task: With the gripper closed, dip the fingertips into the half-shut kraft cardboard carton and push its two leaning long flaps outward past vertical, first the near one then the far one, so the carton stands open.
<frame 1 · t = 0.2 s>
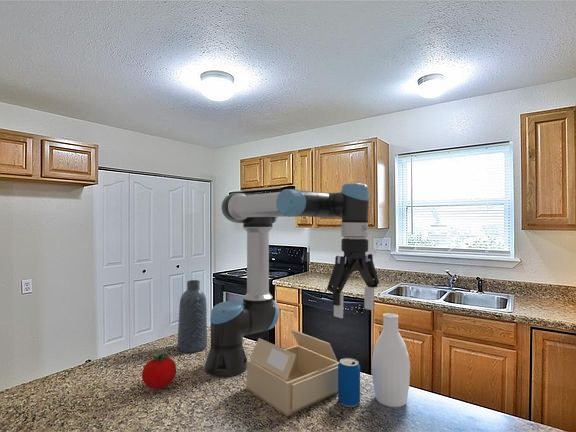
hand: (354, 313, 95), 28 cm above the countertop, fingers open, 13 cm apart
carton: (293, 390, 107), on the countertop
vase: (192, 348, 143), on the countertop
bottle: (390, 400, 101), on the countertop
tomato: (159, 387, 108), on the countertop
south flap: (271, 357, 101), point 13 cm above the countertop, hinge at -30.0°
beverage can: (348, 403, 99), on the countertop
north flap: (312, 344, 112), point 13 cm above the countertop, hinge at -30.0°
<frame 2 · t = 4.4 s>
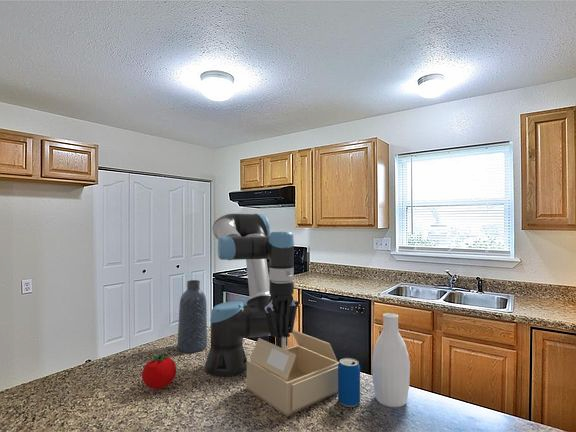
hand: (281, 357, 104), 11 cm above the countertop, fingers closed
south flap: (271, 357, 101), point 13 cm above the countertop, hinge at -29.7°, touching gripper
everything else where it was.
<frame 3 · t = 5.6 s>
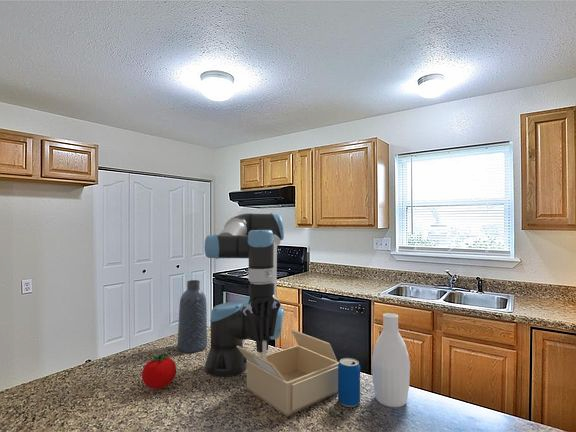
hand: (262, 362, 99), 12 cm above the countertop, fingers closed
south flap: (259, 362, 98), point 12 cm above the countertop, hinge at 38.5°, touching gripper
everything else where it was.
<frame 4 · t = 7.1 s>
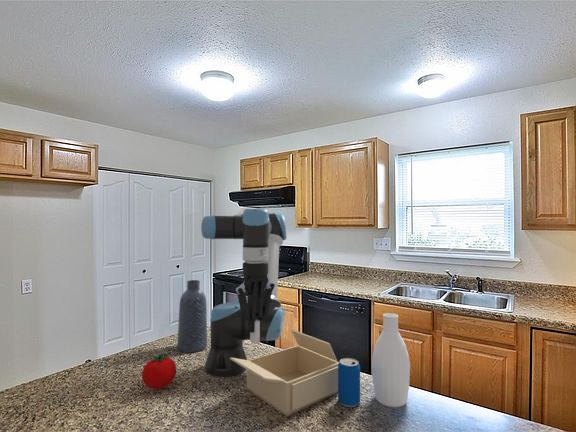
hand: (254, 342, 98), 18 cm above the countertop, fingers closed
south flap: (255, 369, 97), point 10 cm above the countertop, hinge at 68.8°
everything else where it was.
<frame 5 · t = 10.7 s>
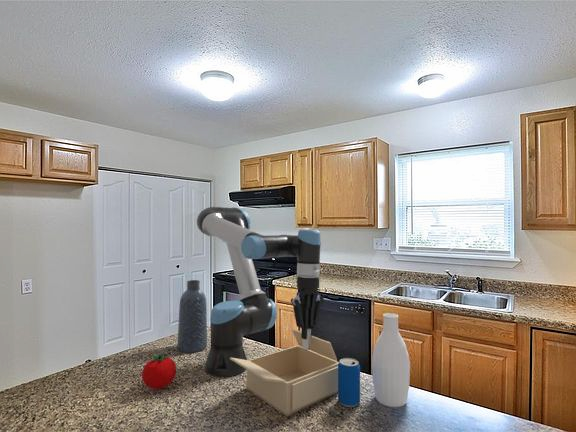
hand: (306, 348, 110), 12 cm above the countertop, fingers closed
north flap: (313, 343, 113), point 13 cm above the countertop, hinge at -27.0°, touching gripper
everything else where it was.
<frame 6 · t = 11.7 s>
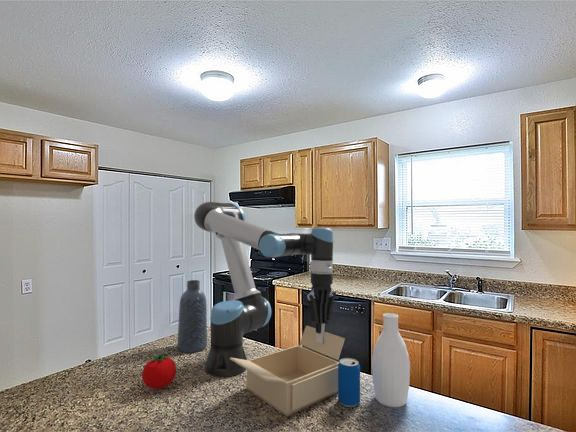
hand: (320, 342, 114), 13 cm above the countertop, fingers closed
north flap: (321, 341, 115), point 13 cm above the countertop, hinge at 27.5°, touching gripper
everything else where it was.
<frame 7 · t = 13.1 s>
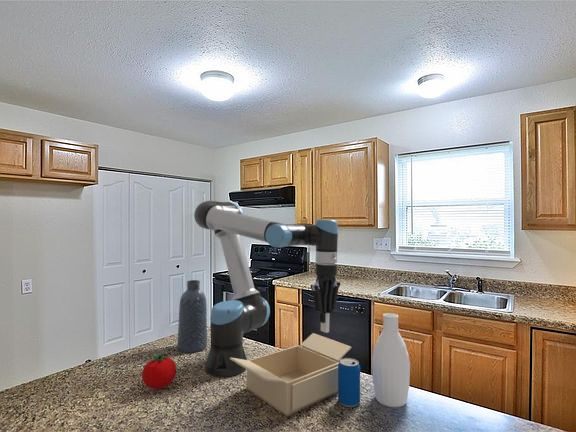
hand: (324, 331, 117), 16 cm above the countertop, fingers closed
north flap: (324, 346, 116), point 11 cm above the countertop, hinge at 65.7°
everything else where it was.
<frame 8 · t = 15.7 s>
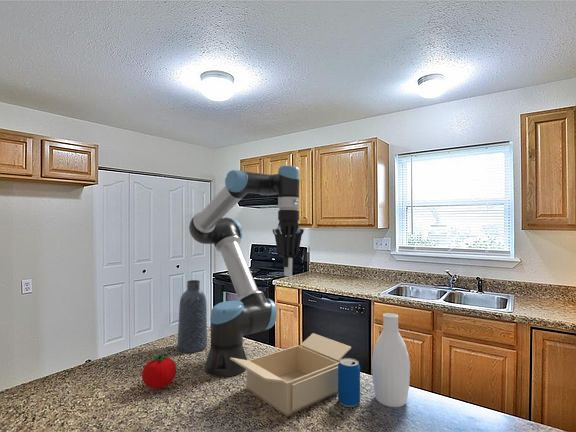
hand: (288, 276, 119), 34 cm above the countertop, fingers closed
nothing on the countertop moved.
at the end: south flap at +69° (first picture: -30°); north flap at +66° (first picture: -30°) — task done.
